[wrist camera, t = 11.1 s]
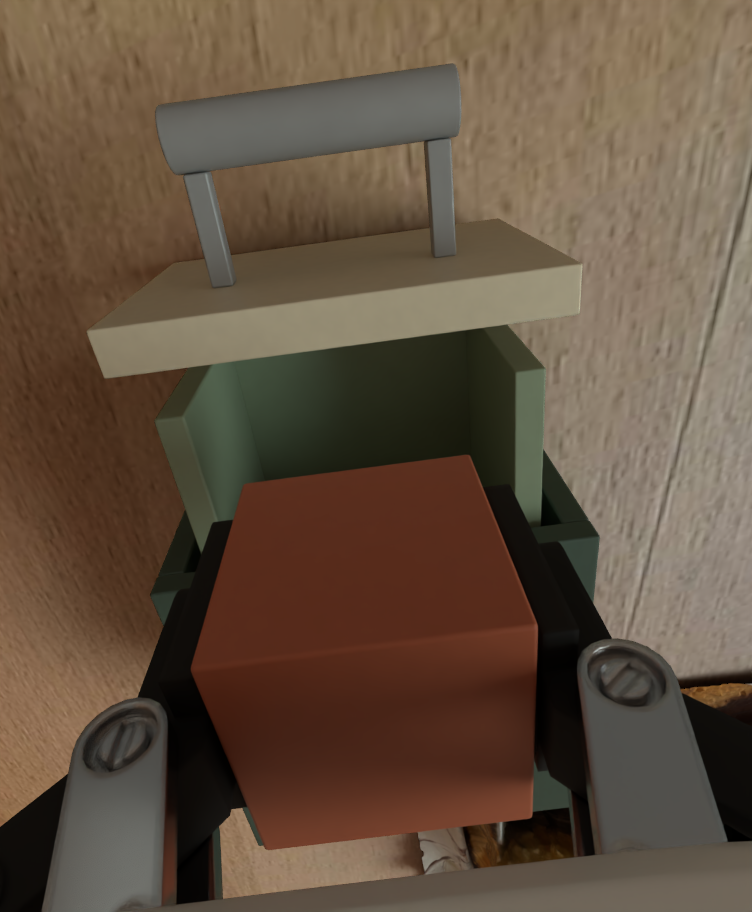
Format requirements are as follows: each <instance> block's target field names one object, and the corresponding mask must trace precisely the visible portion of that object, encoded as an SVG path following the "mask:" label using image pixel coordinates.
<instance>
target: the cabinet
mask: <svg viewBox="0 0 752 912" xmlns="http://www.w3.org/2000/svg"><path fill="white" fill-rule="evenodd" d="M531 529H532V532H533V534H534V536H535V538H536V540H537V542H538V543H546V542H554V541H558V542H559V543H560V544H561V545H562V547H563V548H564V550H565V552H566V554H567V556H568V557H569V559H570V561H571V563H572V565H573V567H574V569H575V571H576V572H577V574H578V576H579V578H580V580H581V582H582V584H583V585H584V587H585V589H586V591H587V593H588V595H589V597H590V599H591V600H592V602H593V600H594V589H595V579H596V569H597V559H598V549H599V539H600V537H599V535H598V533H597V532H596V530H595V528H594V527H593V525H592V524H591V522H590V521H588V518H587V516H586V515H585V513H584V512H583V510H582V508H581V507H580V505H579V504H578V502H577V501H576V499H575V498H574V496H573V494H572V493H571V491H570V490H569V488H568V487H567V485H566V484H565V482H564V481H563V479H562V477H561V476H560V474H559V473H558V471H557V470H556V468H555V467H554V465H553V463H552V462H551V460H550V459H549V457H548V456H547V454H546V453H545V451H544V449H543V468H542V499H541V527H534V528H531ZM200 557H201V552H200V549H199V546H198V544H197V541H196V538H195V535H194V532H193V529H192V527H191V524H190V521H189V518H188V515H187V513H186V510H185V511H184V514H183V516H182V519H181V521H180V524H179V526H178V528H177V531H176V533H175V536H174V538H173V541H172V543H171V545H170V548H169V550H168V553H167V555H166V558H165V560H164V562H163V565H162V567H161V570H160V572H159V575H158V576H159V577H158V578H157V579H156V582H155V584H154V587H153V589H152V591H151V594H150V596H151V599H152V601H153V603H154V606H155V608H156V610H157V613H158V615H159V617H160V620H161V622H162V624H163V626H164V624H165V621H166V619H167V616H168V613H169V610H170V608H171V605H172V602H173V599H174V597H175V595H176V593H177V592H178V591H179V590H180V589H186V588H190V586H191V583H192V581H193V578H194V575H195V572H196V569H197V566H198V563H199V560H200ZM567 807H569V801H568V791H567V787H566V786H564V785H563V784H561V783H560V782H558V781H556V780H555V779H553V778H552V777H550V774H549V771H541V772H538V770H537V767H536V764H535V761H534V780H533V812H535V811H543V810H551V809H559V808H567ZM243 811H244V813H245V815H246V818H247V820H248V822H249V824H250V827H251V829H252V831H253V834H254V836H255V838H256V841H257V843H258V845H259V846H263V843H262V840H261V838H260V836H259V833H258V831H257V828H256V826H255V824H254V821H253V819H252V816H251V814H250V812H249V809H248V807H244V808H243Z"/></svg>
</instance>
